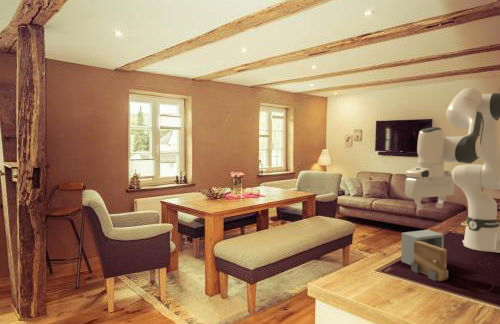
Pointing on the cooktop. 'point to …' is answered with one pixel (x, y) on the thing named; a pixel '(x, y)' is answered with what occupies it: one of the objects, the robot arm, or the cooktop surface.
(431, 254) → the door
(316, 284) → the cooktop surface
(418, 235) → the cabinet
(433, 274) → the hinge clips
